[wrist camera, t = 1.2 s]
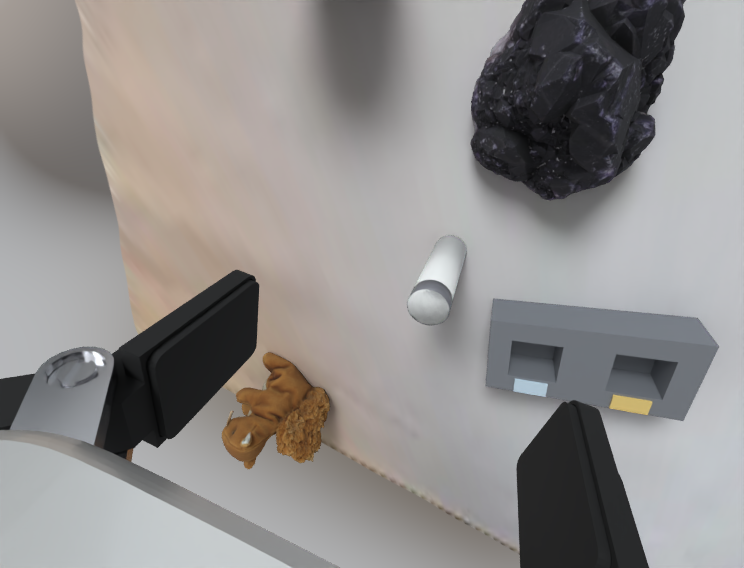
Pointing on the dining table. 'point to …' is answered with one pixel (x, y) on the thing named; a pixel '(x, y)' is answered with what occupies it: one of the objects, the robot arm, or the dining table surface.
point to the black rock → (573, 91)
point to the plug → (438, 282)
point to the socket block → (599, 356)
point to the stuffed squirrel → (278, 415)
